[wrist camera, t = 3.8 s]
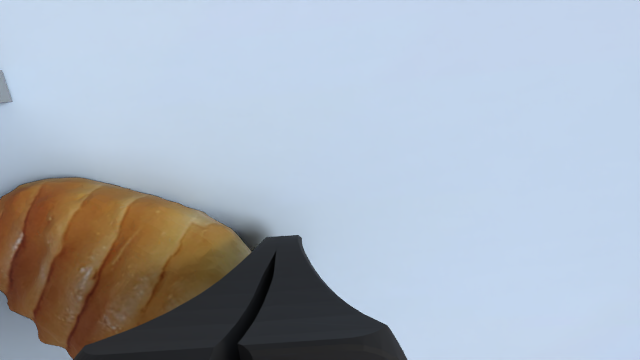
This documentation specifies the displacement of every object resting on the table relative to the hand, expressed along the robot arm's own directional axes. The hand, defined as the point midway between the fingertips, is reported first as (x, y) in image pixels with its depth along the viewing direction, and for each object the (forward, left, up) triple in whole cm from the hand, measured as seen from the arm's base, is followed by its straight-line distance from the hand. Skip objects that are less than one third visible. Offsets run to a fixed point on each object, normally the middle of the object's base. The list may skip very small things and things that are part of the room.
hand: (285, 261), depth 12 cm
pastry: (-5, +3, -2) cm, 6 cm away
